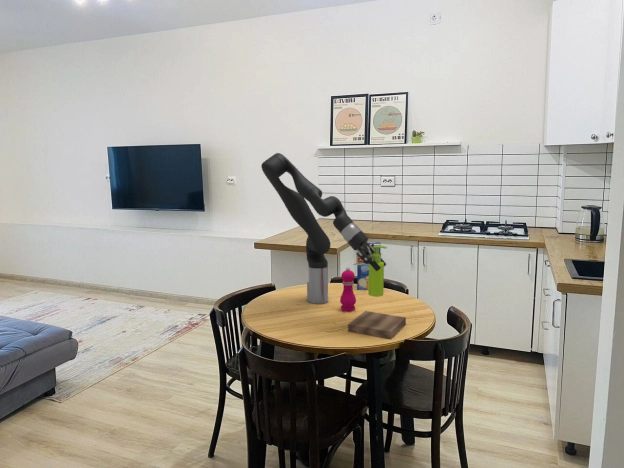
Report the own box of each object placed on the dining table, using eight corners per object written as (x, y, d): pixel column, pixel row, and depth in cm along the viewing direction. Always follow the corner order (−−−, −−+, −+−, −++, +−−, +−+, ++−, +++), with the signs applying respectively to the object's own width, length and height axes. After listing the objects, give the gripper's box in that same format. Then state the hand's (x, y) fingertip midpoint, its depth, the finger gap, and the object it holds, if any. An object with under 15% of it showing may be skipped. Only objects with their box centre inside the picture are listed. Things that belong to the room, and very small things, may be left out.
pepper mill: (358, 308, 214) (358, 266, 211) (352, 313, 208) (352, 269, 205) (343, 306, 217) (343, 264, 214) (337, 311, 211) (337, 268, 208)
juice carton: (356, 289, 244) (357, 244, 240) (357, 285, 251) (357, 242, 247) (380, 290, 243) (380, 245, 239) (379, 286, 250) (380, 242, 246)
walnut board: (347, 331, 187) (347, 324, 186) (365, 317, 202) (365, 310, 202) (390, 339, 178) (391, 331, 178) (405, 324, 194) (405, 317, 193)
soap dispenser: (385, 297, 184) (386, 247, 181) (368, 296, 186) (368, 247, 182) (386, 292, 190) (387, 244, 187) (369, 292, 192) (369, 244, 188)
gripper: (355, 239, 197) (381, 269, 193) (340, 245, 184) (368, 278, 181) (367, 227, 193) (394, 258, 190) (353, 233, 181) (381, 266, 177)
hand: (381, 267), depth 185 cm, fingers closed on soap dispenser, 6 cm apart
